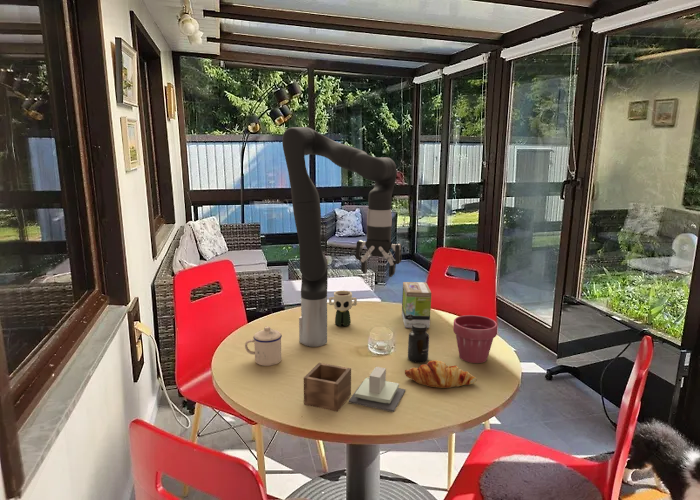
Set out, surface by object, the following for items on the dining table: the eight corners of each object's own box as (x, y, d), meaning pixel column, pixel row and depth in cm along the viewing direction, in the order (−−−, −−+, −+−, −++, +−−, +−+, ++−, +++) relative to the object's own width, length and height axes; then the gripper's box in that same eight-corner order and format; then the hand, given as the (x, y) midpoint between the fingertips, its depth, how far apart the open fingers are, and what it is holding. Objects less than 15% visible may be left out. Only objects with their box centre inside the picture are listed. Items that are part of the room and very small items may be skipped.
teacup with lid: (283, 354, 163) (282, 321, 161) (280, 366, 155) (280, 332, 152) (247, 354, 163) (246, 322, 160) (243, 366, 154) (241, 332, 152)
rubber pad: (348, 402, 133) (348, 400, 133) (362, 383, 144) (363, 381, 144) (393, 412, 129) (394, 409, 128) (405, 391, 140) (405, 389, 139)
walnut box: (303, 404, 132) (303, 377, 130) (319, 387, 141) (318, 362, 139) (337, 411, 128) (337, 384, 127) (350, 394, 138) (351, 368, 136)
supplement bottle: (427, 364, 157) (429, 329, 154) (406, 362, 158) (407, 328, 155) (428, 355, 163) (430, 322, 161) (408, 353, 165) (409, 320, 162)
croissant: (473, 390, 147) (473, 363, 149) (479, 391, 138) (479, 362, 140) (403, 385, 150) (405, 358, 152) (404, 385, 140) (405, 356, 142)
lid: (354, 400, 133) (355, 376, 132) (366, 383, 143) (366, 361, 141) (389, 406, 130) (390, 383, 128) (398, 389, 139) (399, 367, 138)
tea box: (430, 328, 187) (432, 292, 184) (404, 328, 188) (405, 292, 184) (425, 315, 202) (426, 281, 199) (401, 315, 202) (402, 281, 199)
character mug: (328, 327, 188) (328, 295, 185) (329, 320, 195) (329, 290, 192) (356, 328, 187) (356, 296, 185) (356, 321, 194) (357, 290, 192)
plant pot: (451, 347, 170) (453, 312, 167) (492, 350, 168) (495, 315, 165) (452, 365, 156) (454, 327, 154) (496, 369, 154) (499, 331, 151)
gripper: (353, 223, 147) (352, 275, 150) (398, 227, 142) (396, 280, 145) (361, 220, 153) (360, 269, 157) (405, 223, 148) (402, 274, 152)
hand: (377, 274), depth 151 cm, fingers open, 8 cm apart
